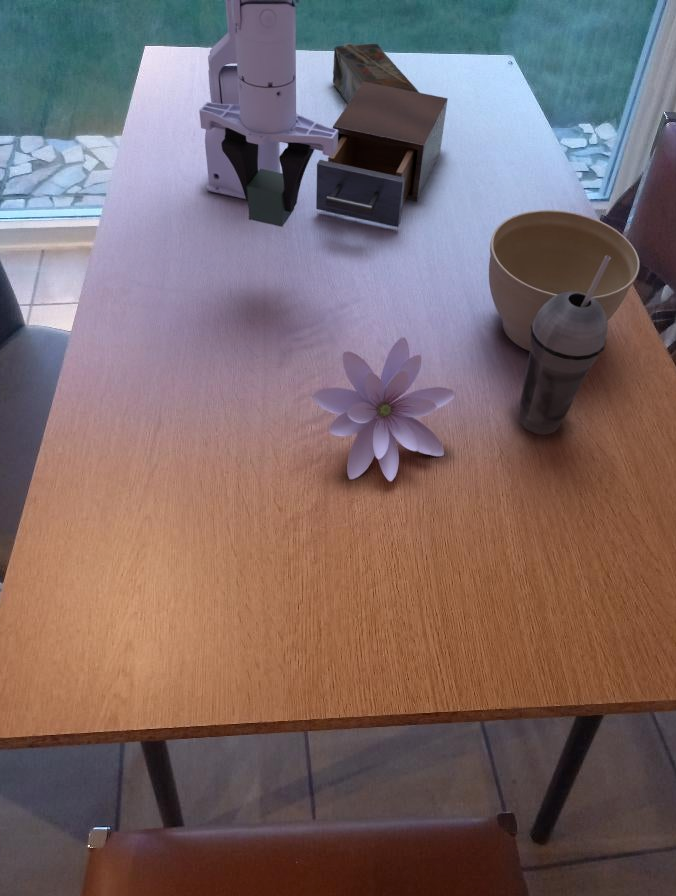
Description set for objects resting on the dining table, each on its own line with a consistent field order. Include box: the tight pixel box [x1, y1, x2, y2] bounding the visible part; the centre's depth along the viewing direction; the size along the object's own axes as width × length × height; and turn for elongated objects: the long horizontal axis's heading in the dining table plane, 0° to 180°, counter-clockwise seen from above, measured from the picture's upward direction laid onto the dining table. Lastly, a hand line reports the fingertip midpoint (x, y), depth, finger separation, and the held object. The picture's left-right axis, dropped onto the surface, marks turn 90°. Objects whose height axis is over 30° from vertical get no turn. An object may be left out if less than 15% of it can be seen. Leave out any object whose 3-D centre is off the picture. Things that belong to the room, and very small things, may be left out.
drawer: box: [315, 134, 418, 228], centre depth 103 cm, size 18×11×6 cm, turn 164°
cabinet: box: [332, 82, 448, 203], centre depth 110 cm, size 15×13×8 cm
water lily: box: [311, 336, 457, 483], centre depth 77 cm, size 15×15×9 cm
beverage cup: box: [518, 256, 610, 435], centre depth 75 cm, size 7×7×20 cm
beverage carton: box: [332, 42, 421, 105], centre depth 122 cm, size 8×19×7 cm, turn 20°
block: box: [247, 169, 295, 228], centre depth 86 cm, size 4×4×4 cm
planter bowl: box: [488, 209, 640, 352], centre depth 88 cm, size 16×16×11 cm
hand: (271, 202), depth 87 cm, fingers closed on block, 4 cm apart
